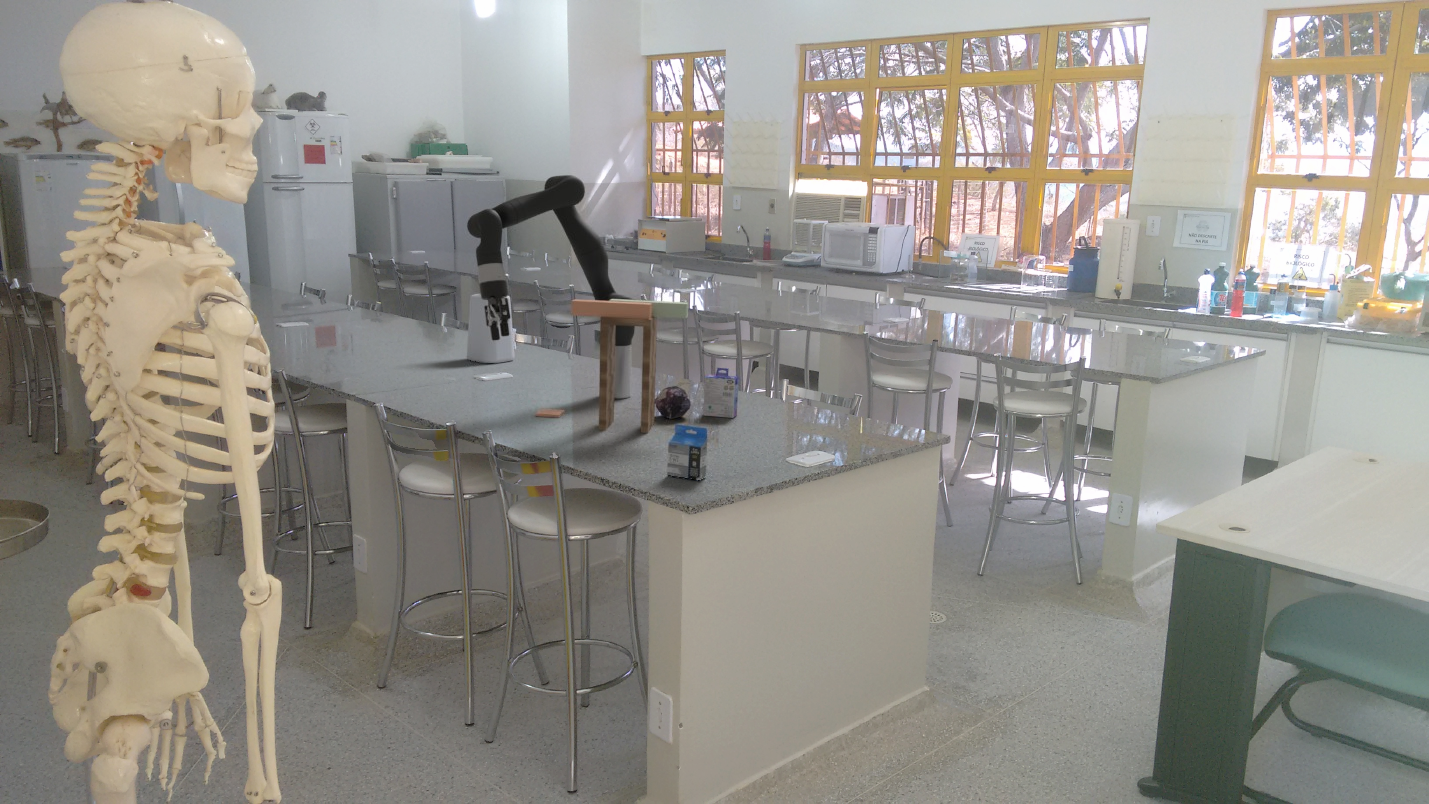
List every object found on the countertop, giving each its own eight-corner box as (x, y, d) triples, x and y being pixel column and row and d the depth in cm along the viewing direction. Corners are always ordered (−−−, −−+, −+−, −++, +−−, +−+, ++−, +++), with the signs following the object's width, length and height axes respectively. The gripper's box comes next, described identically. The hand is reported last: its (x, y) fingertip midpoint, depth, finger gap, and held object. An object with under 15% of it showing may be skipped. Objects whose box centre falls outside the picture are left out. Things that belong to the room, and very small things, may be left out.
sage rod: (611, 312, 296) (611, 298, 295) (687, 316, 294) (688, 302, 294) (608, 314, 292) (609, 300, 292) (686, 318, 290) (686, 304, 290)
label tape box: (666, 476, 249) (667, 426, 246) (673, 472, 252) (675, 423, 250) (699, 481, 245) (701, 431, 243) (706, 477, 249) (708, 427, 246)
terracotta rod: (574, 313, 292) (574, 299, 291) (651, 317, 290) (652, 303, 289) (571, 315, 288) (571, 300, 287) (649, 319, 286) (649, 304, 285)
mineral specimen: (650, 407, 316) (664, 377, 315) (681, 421, 317) (695, 392, 316) (649, 413, 307) (664, 382, 305) (681, 427, 308) (696, 397, 306)
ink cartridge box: (737, 414, 319) (739, 368, 316) (734, 418, 313) (736, 371, 310) (706, 412, 321) (708, 366, 318) (702, 416, 315) (704, 369, 312)
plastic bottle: (491, 355, 407) (491, 284, 402) (519, 360, 399) (519, 287, 393) (462, 360, 395) (461, 286, 390) (489, 365, 387) (489, 290, 381)
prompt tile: (541, 411, 313) (541, 408, 313) (564, 412, 313) (564, 409, 312) (535, 416, 306) (535, 413, 306) (558, 417, 306) (558, 414, 306)
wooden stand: (607, 420, 304) (608, 312, 297) (654, 423, 303) (657, 314, 296) (598, 430, 292) (600, 317, 286) (647, 432, 291) (650, 319, 285)
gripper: (513, 275, 288) (521, 333, 288) (497, 285, 300) (505, 340, 300) (487, 277, 284) (495, 336, 284) (472, 286, 297) (480, 342, 297)
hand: (500, 338), depth 292 cm, fingers open, 8 cm apart
